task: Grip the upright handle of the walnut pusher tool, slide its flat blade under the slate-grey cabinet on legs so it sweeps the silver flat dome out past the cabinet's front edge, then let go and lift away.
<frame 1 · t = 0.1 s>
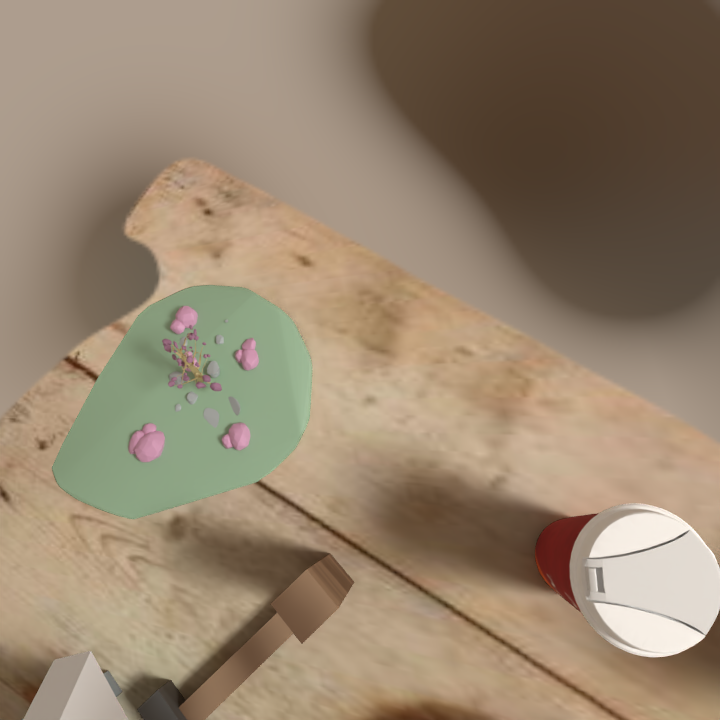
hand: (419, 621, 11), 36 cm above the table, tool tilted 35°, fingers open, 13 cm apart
pusher tool: (328, 580, 45), on the table
coffee cup: (572, 556, 45), on the table
miniature garden model: (186, 408, 51), on the table
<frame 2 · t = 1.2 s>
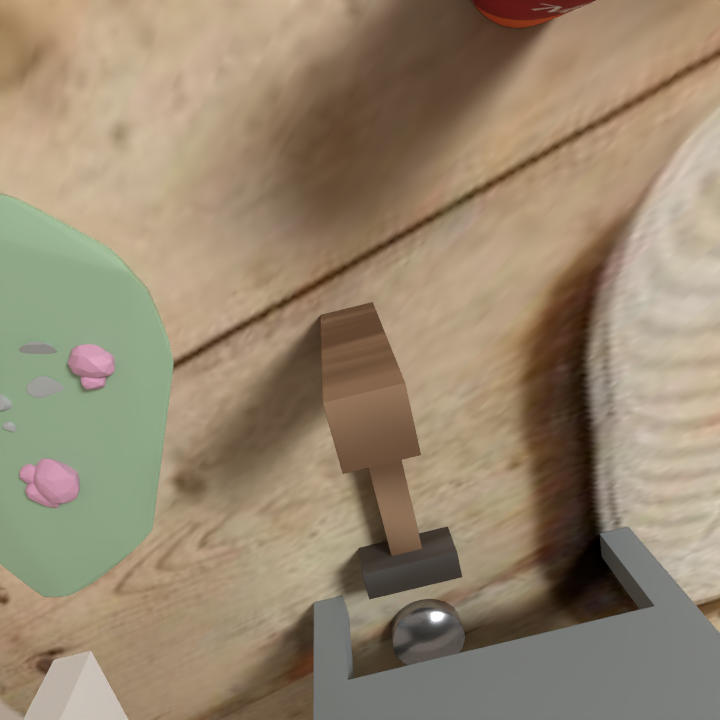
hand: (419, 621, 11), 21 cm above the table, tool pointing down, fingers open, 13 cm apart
silver flat dome: (425, 624, 39), on the table
pusher tool: (352, 333, 31), on the table
miniature garden model: (20, 410, 32), on the table
cabinet: (481, 619, 39), on the table
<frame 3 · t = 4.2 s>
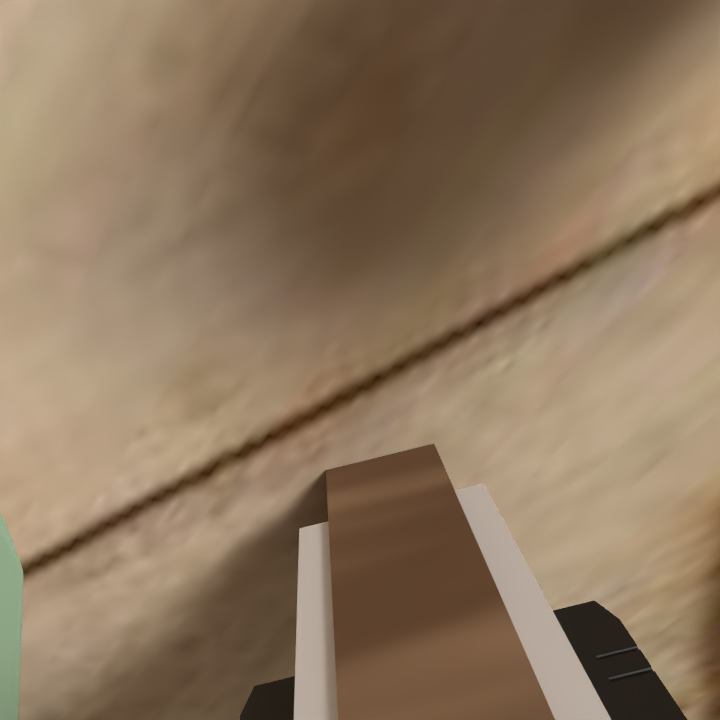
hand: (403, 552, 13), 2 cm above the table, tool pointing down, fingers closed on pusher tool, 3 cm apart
pusher tool: (391, 502, 15), on the table, touching gripper
when the fingers open (2 cm above the table, at t = 8.3 s): pusher tool stays where it is, on the table.
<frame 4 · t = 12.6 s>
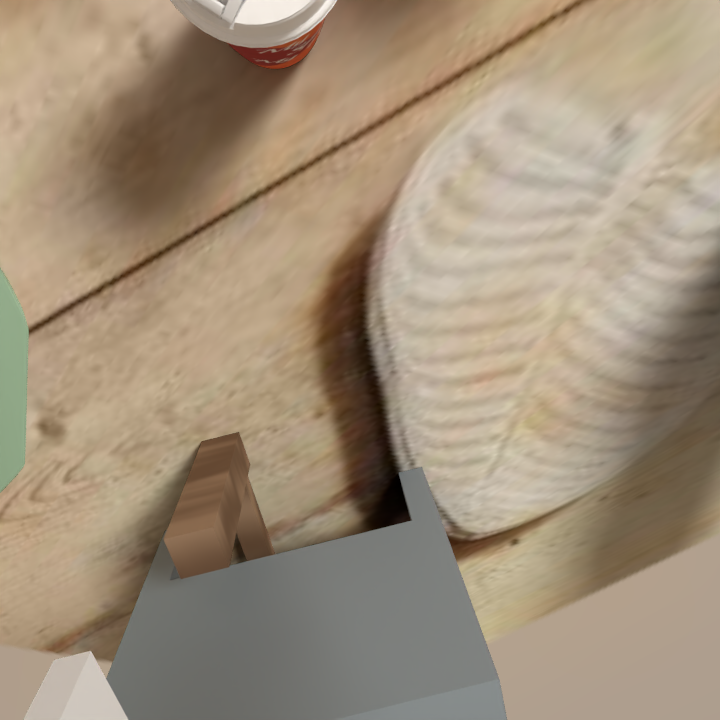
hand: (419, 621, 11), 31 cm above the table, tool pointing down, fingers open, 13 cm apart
pusher tool: (226, 453, 44), on the table
coffee cup: (273, 15, 34), on the table
cabinet: (308, 546, 47), on the table
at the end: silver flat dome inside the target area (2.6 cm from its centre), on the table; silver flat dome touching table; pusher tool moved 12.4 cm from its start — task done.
